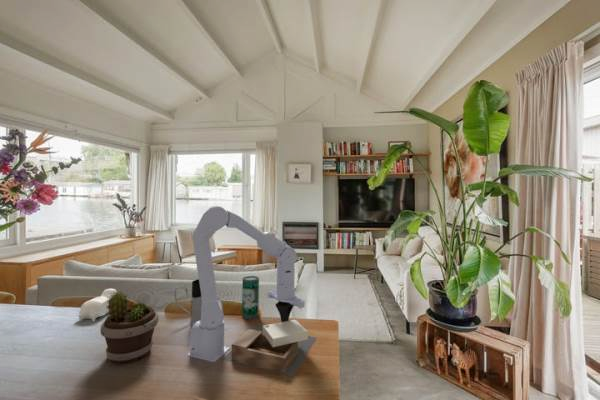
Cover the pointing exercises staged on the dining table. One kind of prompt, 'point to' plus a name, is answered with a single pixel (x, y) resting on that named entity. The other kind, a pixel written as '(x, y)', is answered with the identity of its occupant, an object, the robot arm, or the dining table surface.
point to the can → (250, 297)
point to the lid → (284, 333)
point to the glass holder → (193, 302)
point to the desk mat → (302, 352)
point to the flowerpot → (128, 329)
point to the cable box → (263, 352)
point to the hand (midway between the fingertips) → (285, 324)
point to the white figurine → (96, 306)
